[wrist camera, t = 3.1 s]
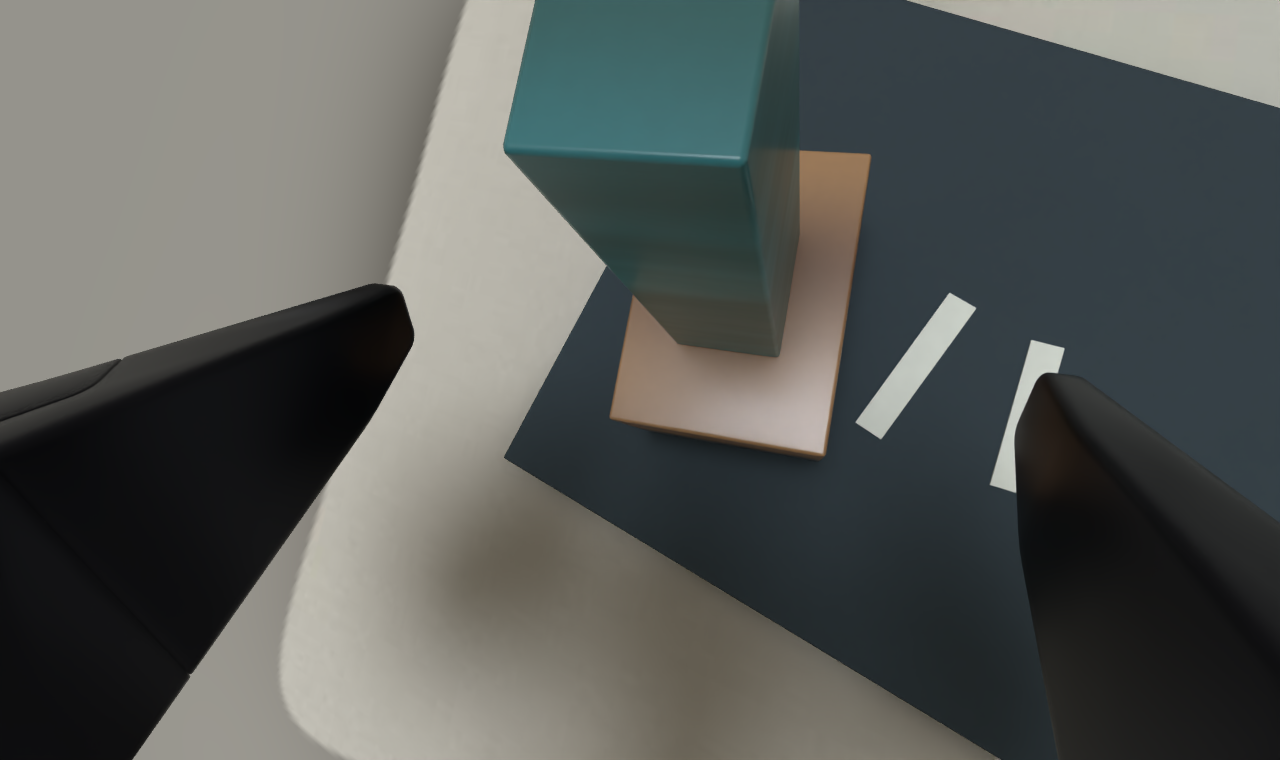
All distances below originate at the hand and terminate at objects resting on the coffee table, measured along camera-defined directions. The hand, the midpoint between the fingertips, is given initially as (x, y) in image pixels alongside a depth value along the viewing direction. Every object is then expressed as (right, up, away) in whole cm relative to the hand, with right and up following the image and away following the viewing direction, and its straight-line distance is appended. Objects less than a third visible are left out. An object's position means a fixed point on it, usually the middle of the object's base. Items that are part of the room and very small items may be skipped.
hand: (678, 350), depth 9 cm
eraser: (+3, +1, +9) cm, 10 cm away
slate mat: (+9, 0, +8) cm, 12 cm away
